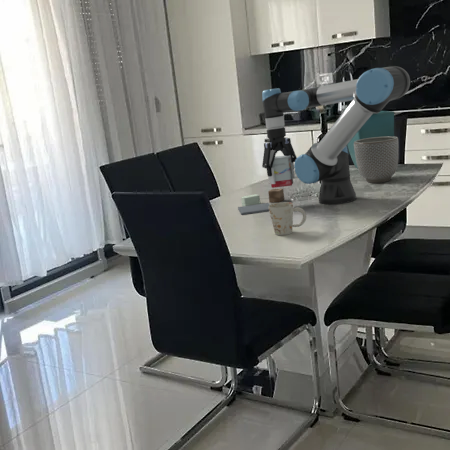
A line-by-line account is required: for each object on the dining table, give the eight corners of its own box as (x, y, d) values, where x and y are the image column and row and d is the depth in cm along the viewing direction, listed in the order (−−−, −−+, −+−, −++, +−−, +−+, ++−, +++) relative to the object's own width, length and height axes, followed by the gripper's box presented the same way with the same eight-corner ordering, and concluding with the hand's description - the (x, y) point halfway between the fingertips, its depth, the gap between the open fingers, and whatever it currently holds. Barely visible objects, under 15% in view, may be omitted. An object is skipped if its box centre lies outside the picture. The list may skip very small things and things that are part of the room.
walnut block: (284, 199, 273) (283, 188, 272) (280, 202, 269) (279, 190, 268) (273, 200, 276) (272, 189, 275) (269, 202, 271) (268, 191, 270)
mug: (269, 232, 220) (266, 204, 218) (305, 227, 221) (302, 199, 219) (273, 237, 212) (270, 208, 210) (310, 232, 213) (307, 203, 211)
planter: (406, 176, 291) (403, 135, 287) (392, 184, 275) (389, 141, 271) (365, 177, 302) (362, 137, 297) (350, 185, 286) (346, 143, 281)
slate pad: (268, 204, 267) (267, 202, 267) (273, 210, 255) (272, 208, 254) (238, 208, 266) (237, 207, 266) (241, 214, 254) (241, 213, 254)
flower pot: (361, 174, 311) (356, 116, 305) (345, 169, 330) (341, 115, 324) (398, 168, 315) (394, 111, 308) (381, 164, 334) (377, 110, 327)
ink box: (292, 185, 253) (288, 156, 251) (271, 188, 255) (267, 159, 253) (294, 182, 261) (290, 154, 259) (273, 184, 263) (270, 156, 261)
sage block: (260, 204, 271) (259, 195, 270) (245, 207, 269) (244, 198, 268) (256, 203, 274) (255, 194, 274) (242, 206, 272) (240, 197, 272)
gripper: (287, 124, 264) (293, 175, 268) (248, 132, 248) (255, 186, 253) (301, 123, 258) (307, 175, 263) (262, 131, 243) (269, 186, 247)
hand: (282, 180), depth 258 cm, fingers closed on ink box, 11 cm apart
